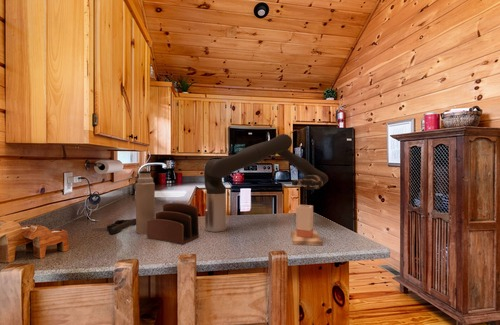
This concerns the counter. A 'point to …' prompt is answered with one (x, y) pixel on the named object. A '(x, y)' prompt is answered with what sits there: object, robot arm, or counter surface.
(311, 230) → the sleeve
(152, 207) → the thermos bottle
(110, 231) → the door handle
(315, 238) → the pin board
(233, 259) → the counter surface
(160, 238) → the letter holder
